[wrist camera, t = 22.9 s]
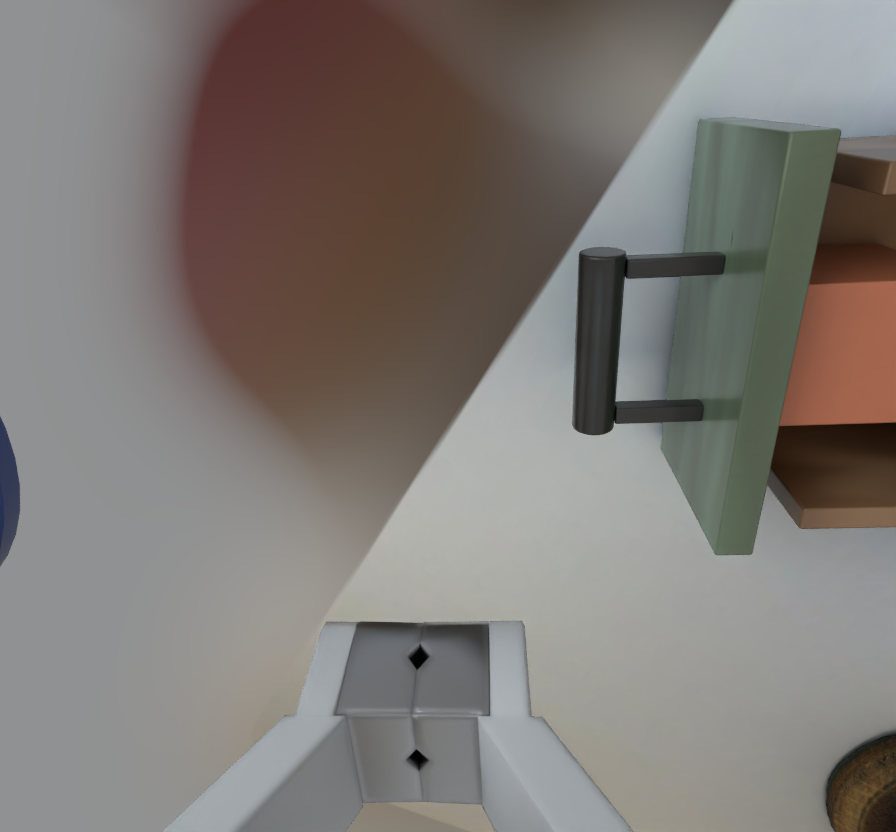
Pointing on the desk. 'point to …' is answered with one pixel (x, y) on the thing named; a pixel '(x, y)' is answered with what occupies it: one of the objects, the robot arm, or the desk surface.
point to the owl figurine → (865, 790)
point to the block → (846, 340)
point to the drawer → (749, 330)
